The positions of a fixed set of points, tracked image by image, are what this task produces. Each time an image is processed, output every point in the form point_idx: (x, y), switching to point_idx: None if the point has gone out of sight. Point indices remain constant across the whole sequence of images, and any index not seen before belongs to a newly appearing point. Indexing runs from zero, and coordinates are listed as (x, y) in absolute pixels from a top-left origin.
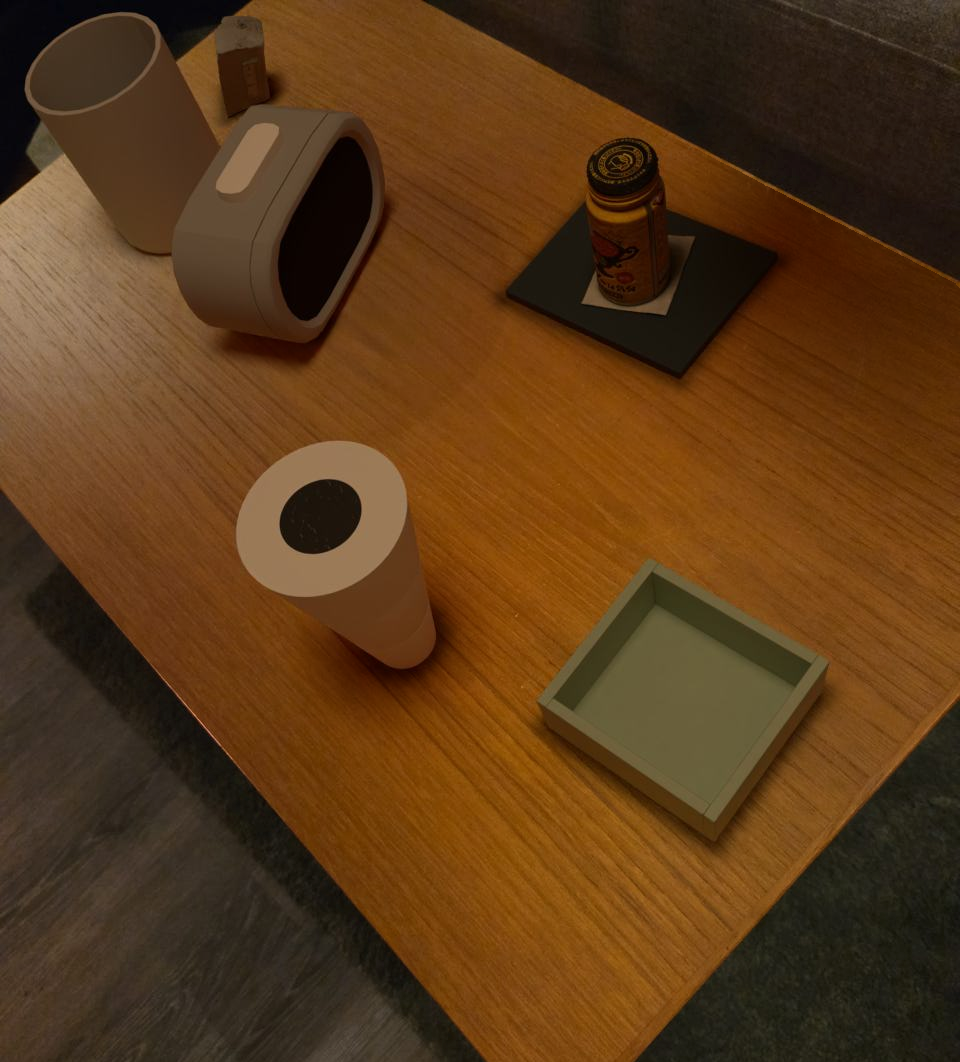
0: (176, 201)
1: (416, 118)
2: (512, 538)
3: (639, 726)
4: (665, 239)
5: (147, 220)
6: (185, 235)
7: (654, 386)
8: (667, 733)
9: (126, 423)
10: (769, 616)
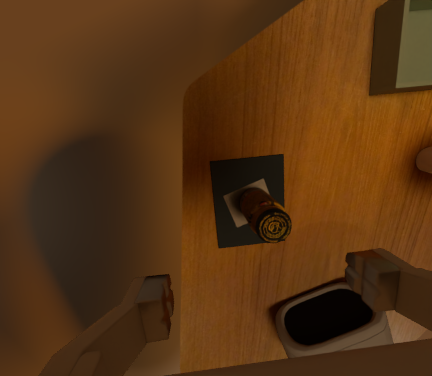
0: None
1: (227, 332)
2: (373, 157)
3: (421, 59)
4: (255, 195)
5: None
6: None
7: (289, 160)
8: (419, 47)
9: None
10: (356, 49)
